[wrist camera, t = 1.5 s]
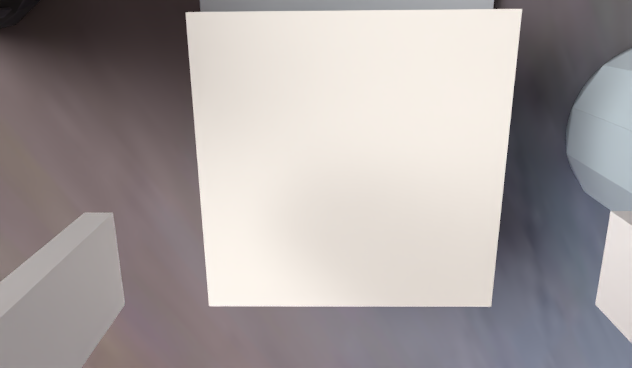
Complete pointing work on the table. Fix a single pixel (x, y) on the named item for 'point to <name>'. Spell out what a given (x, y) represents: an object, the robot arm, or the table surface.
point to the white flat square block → (352, 153)
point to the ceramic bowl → (604, 134)
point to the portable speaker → (14, 11)
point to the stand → (339, 5)
